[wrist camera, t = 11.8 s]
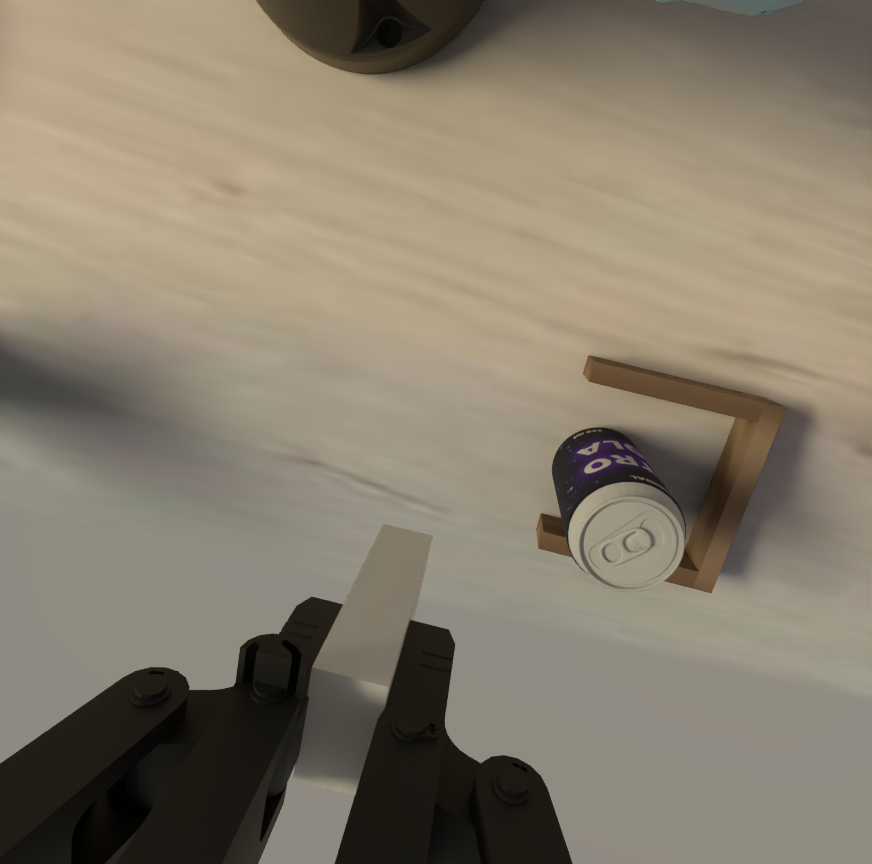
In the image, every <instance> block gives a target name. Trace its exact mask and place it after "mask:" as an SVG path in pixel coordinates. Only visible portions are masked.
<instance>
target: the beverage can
mask: <svg viewBox="0 0 872 864" xmlns="http://www.w3.org/2000/svg"><path fill="white" fill-rule="evenodd" d="M552 476H553V481H554V485H555V490H556V495H557V499H558V504H559V508H560V513H561V517H562V522H563V526H564V531H565V536H566V540H567V545H568V548H569V551H570V553H571V556H572V557H573V559H574V561H575V562H576V563H577V565H578V566H579V567H580V568H581V569H582V570H583V571H584V572H586V573H587V574H588V575H590V576H591V577H592V578H593V579H594V580H595V581H597V582H598V583H600V584H602V585H603V586H605V587H608V588H610V589H613V590H618V591H624V592H636V591H642V590H646V589H649V588H652V587H654V586H657V585H659V584H660V583H662V582H663V581H665V580H666V579H667V578H668V577H670V576H671V575H672V574H673V572H674V571H675V570H676V569H677V567H678V565H679V564H680V562H681V560H682V557H683V554H684V548H685V537H686V525H685V519H684V516H683V513H682V511H681V509H680V507H679V505H678V504H677V503H676V501H675V500H674V498H673V497H672V496H671V494H670V493H669V492H668V490H667V489H666V488H665V486H664V485H663V484H662V482H661V481H660V479H659V478H658V477H657V475H656V474H655V473H654V471H653V470H652V469H651V467H650V466H649V465H648V463H647V462H646V460H645V459H644V458H643V456H642V455H641V454H640V452H639V451H638V450H637V448H636V447H635V446H634V444H633V443H632V442H631V441H630V440H629V439H628V438H627V437H626V436H624V435H623V434H621V433H619V432H617V431H614V430H611V429H607V428H589V429H585V430H582V431H579V432H577V433H575V434H573V435H572V436H570V437H569V438H568V439H566V440H565V441H564V442H563V443H562V445H561V446H560V447H559V449H558V450H557V452H556V454H555V457H554V460H553V465H552Z"/></svg>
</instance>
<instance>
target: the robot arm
mask: <svg viewBox="0 0 872 864" xmlns="http://www.w3.org/2000/svg"><path fill="white" fill-rule="evenodd" d="M256 1H257V3H258V4H259V5H260V7H261V8H262V9H263V11H264V12H265V13H266V14H267V16H268V17H269V18H270V19H271V20H272V21H273V22H274V24H275V25H276V26H277V27H278V28H279V29H280V30H281V31H282V32H283V33H284V35H285V36H286V37H287V38H288V39H289V40H290V41H292V42H293V43H294V44H295V45H296V46H297V47H299V48H300V49H301V50H303V51H304V52H305V53H307V54H308V55H310V56H312V57H313V58H315V59H317V60H319V61H321V62H323V63H325V64H327V65H330V66H332V67H335V68H338V69H342V70H346V71H351V72H358V73H382V72H390V71H395V70H399V69H402V68H406V67H408V66H411V65H414V64H416V63H418V62H420V61H422V60H424V59H426V58H428V57H430V56H431V55H433V54H435V53H436V52H437V51H439V50H440V49H442V48H443V47H444V46H446V45H447V44H448V43H449V42H450V41H451V40H453V39H454V38H455V37H456V36H457V35H458V34H459V33H460V32H461V31H462V30H463V28H464V27H465V26H466V25H467V24H468V23H469V21H470V20H471V19H472V17H473V16H474V15H475V13H476V12H477V10H478V9H479V7H480V6H481V4H482V2H483V1H484V0H256ZM655 1H658V2H662V3H668V2H675V1H680V0H655ZM683 1H687V2H691V3H695V4H699V5H703V6H707V7H711V8H715V9H719V10H723V11H727V12H731V13H734V14H739V15H744V16H764V15H770V14H772V13H775V12H777V11H779V10H782V9H784V8H786V7H788V6H791V5H796V4H799V3H801V2H803V1H806V0H683ZM431 541H432V535H427V534H423V533H419V532H415V531H411V530H407V529H403V528H399V527H394V526H390V525H386V524H383V526H382V528H381V530H380V532H379V534H378V536H377V538H376V540H375V542H374V544H373V546H372V548H371V550H370V552H369V554H368V556H367V558H366V560H365V562H364V564H363V566H362V568H361V570H360V572H359V574H358V576H357V578H356V580H355V582H354V584H353V586H352V588H351V590H350V592H349V594H348V596H347V598H346V600H345V602H344V604H338V603H335V602H331V601H327V600H323V599H319V598H315V597H310V598H309V599H307V600H305V601H304V602H302V603H301V604H299V605H297V606H296V608H295V609H294V611H293V613H292V614H291V616H290V617H289V619H288V621H287V622H286V623H285V625H284V627H283V628H282V631H281V632H280V633H279V634H266V635H260V636H257V637H255V638H252V639H250V640H248V641H247V642H246V643H245V644H244V645H242V646H241V647H240V654H239V661H238V669H237V677H236V683H235V685H234V686H233V687H229V688H225V689H219V690H189V685H188V682H187V680H186V678H185V677H184V676H183V675H182V674H180V673H179V672H178V671H175V670H172V669H169V668H164V667H162V668H161V667H158V668H157V667H155V668H154V667H150V668H146V669H142V670H138V671H135V672H133V673H131V674H129V675H127V676H125V677H123V678H122V679H120V680H119V681H118V682H116V683H115V684H114V685H112V686H110V687H109V688H108V689H106V690H105V691H103V692H102V693H101V694H99V695H98V696H96V697H95V698H93V699H92V700H90V701H89V702H88V703H86V704H85V705H83V706H82V707H80V708H79V709H78V710H76V711H75V712H73V713H72V714H71V715H69V716H68V717H66V718H65V719H63V720H62V721H61V722H59V723H58V724H56V725H55V726H53V727H52V728H51V729H49V730H48V731H46V732H45V733H43V734H42V735H40V736H39V737H38V738H36V739H35V740H33V741H32V742H30V743H29V744H28V745H26V746H25V747H23V748H22V749H20V750H19V751H18V752H16V753H15V754H14V755H12V756H10V757H9V758H8V759H6V760H5V761H3V762H2V763H0V864H258V863H259V860H260V858H261V855H262V853H263V851H264V848H265V846H266V844H267V841H268V839H269V836H270V834H271V832H272V829H273V827H274V825H275V822H276V820H277V817H278V815H279V813H280V810H281V808H282V805H283V802H284V797H285V792H286V786H287V782H288V779H289V777H290V775H291V773H292V770H293V768H294V765H295V770H294V776H293V779H294V780H298V781H301V782H305V783H309V784H312V785H316V786H320V787H324V788H327V789H331V790H335V791H338V792H342V793H346V794H349V795H353V796H355V797H354V801H353V804H352V808H351V811H350V814H349V817H348V821H347V824H346V828H345V831H344V835H343V838H342V841H341V844H340V848H339V851H338V855H337V858H336V861H335V864H572V861H571V858H570V855H569V852H568V849H567V846H566V843H565V840H564V837H563V834H562V831H561V828H560V825H559V822H558V819H557V816H556V813H555V810H554V807H553V804H552V801H551V798H550V795H549V792H548V789H547V787H546V785H545V783H544V781H543V779H542V778H541V776H540V775H539V774H538V773H537V772H536V771H535V770H534V769H533V768H532V767H531V766H530V765H528V764H526V763H525V762H523V761H521V760H519V759H517V758H513V757H509V756H504V755H503V756H494V757H490V758H489V759H487V760H485V761H484V762H482V764H481V763H479V762H478V761H476V760H474V759H472V758H471V757H469V756H467V755H466V754H465V753H463V752H462V751H460V750H459V749H458V748H457V747H456V746H455V745H454V744H453V743H452V741H451V739H450V738H449V736H448V734H447V731H446V728H445V712H446V706H447V699H448V691H449V685H450V677H451V669H452V663H453V656H454V649H455V643H454V641H453V638H452V636H451V634H450V631H449V630H448V629H444V628H440V627H436V626H432V625H428V624H424V623H420V622H416V621H413V620H414V616H415V612H416V607H417V603H418V599H419V594H420V590H421V585H422V581H423V577H424V572H425V568H426V563H427V559H428V554H429V550H430V545H431ZM295 763H296V764H295Z"/></svg>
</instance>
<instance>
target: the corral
mask: <svg viewBox="0 0 872 864" xmlns="http://www.w3.org/2000/svg"><path fill="white" fill-rule="evenodd" d="M583 374H584V376H585V377H586V378H587V379H588V381H589V382H592V383H597V384H601V385H605V386H609V387H613V388H617V389H621V390H625V391H630V392H634V393H638V394H642V395H646V396H650V397H654V398H658V399H663V400H667V401H671V402H675V403H679V404H683V405H687V406H691V407H696V408H700V409H704V410H708V411H712V412H716V413H720V414H724V415H729V416H733V417H736V419H735V421H734V424H733V427H732V429H731V432H730V434H729V437H728V440H727V442H726V445H725V448H724V450H723V453H722V455H721V458H720V461H719V463H718V466H717V468H716V471H715V474H714V476H713V479H712V481H711V484H710V487H709V489H708V492H707V495H706V497H705V500H704V502H703V505H702V508H701V510H700V513H699V515H698V518H697V521H696V523H695V526H694V528H693V531H692V534H691V536H690V539H689V542H688V544H687V547H686V549H685V550H684V554H683V557H682V560H681V562H680V564H679V565H678V567H677V569H676V570H675V571H674V572H673V574H672V575H671V576H670V577H668V578H667V579H666V580H665V581H666V582H670V583H674V584H677V585H681V586H685V587H689V588H693V589H697V590H701V591H704V592H708V593H712V590H713V588H714V586H715V583H716V581H717V578H718V576H719V573H720V571H721V568H722V566H723V563H724V561H725V558H726V556H727V554H728V551H729V549H730V546H731V544H732V541H733V539H734V536H735V534H736V531H737V529H738V526H739V524H740V522H741V519H742V517H743V514H744V512H745V509H746V507H747V504H748V502H749V499H750V497H751V494H752V492H753V490H754V487H755V485H756V482H757V480H758V477H759V475H760V472H761V470H762V467H763V465H764V462H765V460H766V458H767V455H768V453H769V450H770V448H771V445H772V443H773V440H774V438H775V435H776V433H777V430H778V428H779V426H780V423H781V421H782V418H783V416H784V413H785V411H786V408H785V407H783V406H781V405H779V404H777V403H775V402H772V401H770V400H768V399H766V398H763V397H759V396H755V395H751V394H747V393H742V392H738V391H734V390H730V389H726V388H722V387H717V386H713V385H709V384H705V383H701V382H697V381H692V380H688V379H684V378H680V377H676V376H672V375H667V374H663V373H659V372H655V371H651V370H647V369H642V368H638V367H634V366H630V365H626V364H622V363H617V362H613V361H609V360H605V359H601V358H597V357H592V356H588V359H587V362H586V365H585V369H584V372H583ZM536 530H537V539H538V547H539V549H542V550H546V551H550V552H554V553H558V554H562V555H566V556H569V557H572V556H571V553H570V551H569V548H568V545H567V540H566V536H565V531H564V526H563V522H562V519H560V518H556V517H552V516H548V515H544V514H541V516H540V519H539V522H538V526H537V529H536Z"/></svg>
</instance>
